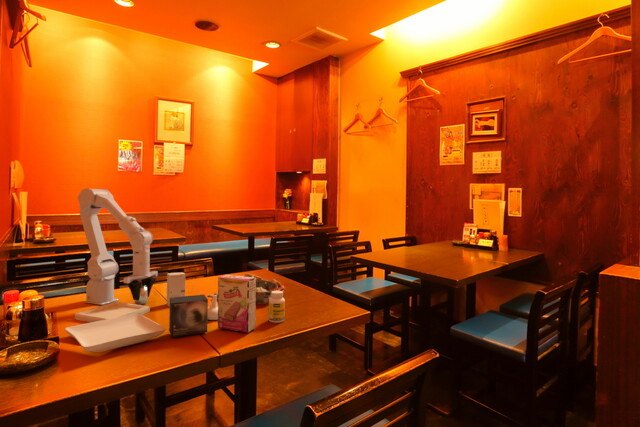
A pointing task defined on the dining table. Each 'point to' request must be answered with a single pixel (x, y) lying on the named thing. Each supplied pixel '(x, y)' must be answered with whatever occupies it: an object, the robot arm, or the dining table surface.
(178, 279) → the skincare box
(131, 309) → the tray
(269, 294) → the food tray
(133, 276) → the robot arm
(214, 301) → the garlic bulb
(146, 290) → the cylinder
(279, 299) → the supplement bottle
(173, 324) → the small box
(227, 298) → the candy bar box
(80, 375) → the dining table surface
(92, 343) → the salad plate
